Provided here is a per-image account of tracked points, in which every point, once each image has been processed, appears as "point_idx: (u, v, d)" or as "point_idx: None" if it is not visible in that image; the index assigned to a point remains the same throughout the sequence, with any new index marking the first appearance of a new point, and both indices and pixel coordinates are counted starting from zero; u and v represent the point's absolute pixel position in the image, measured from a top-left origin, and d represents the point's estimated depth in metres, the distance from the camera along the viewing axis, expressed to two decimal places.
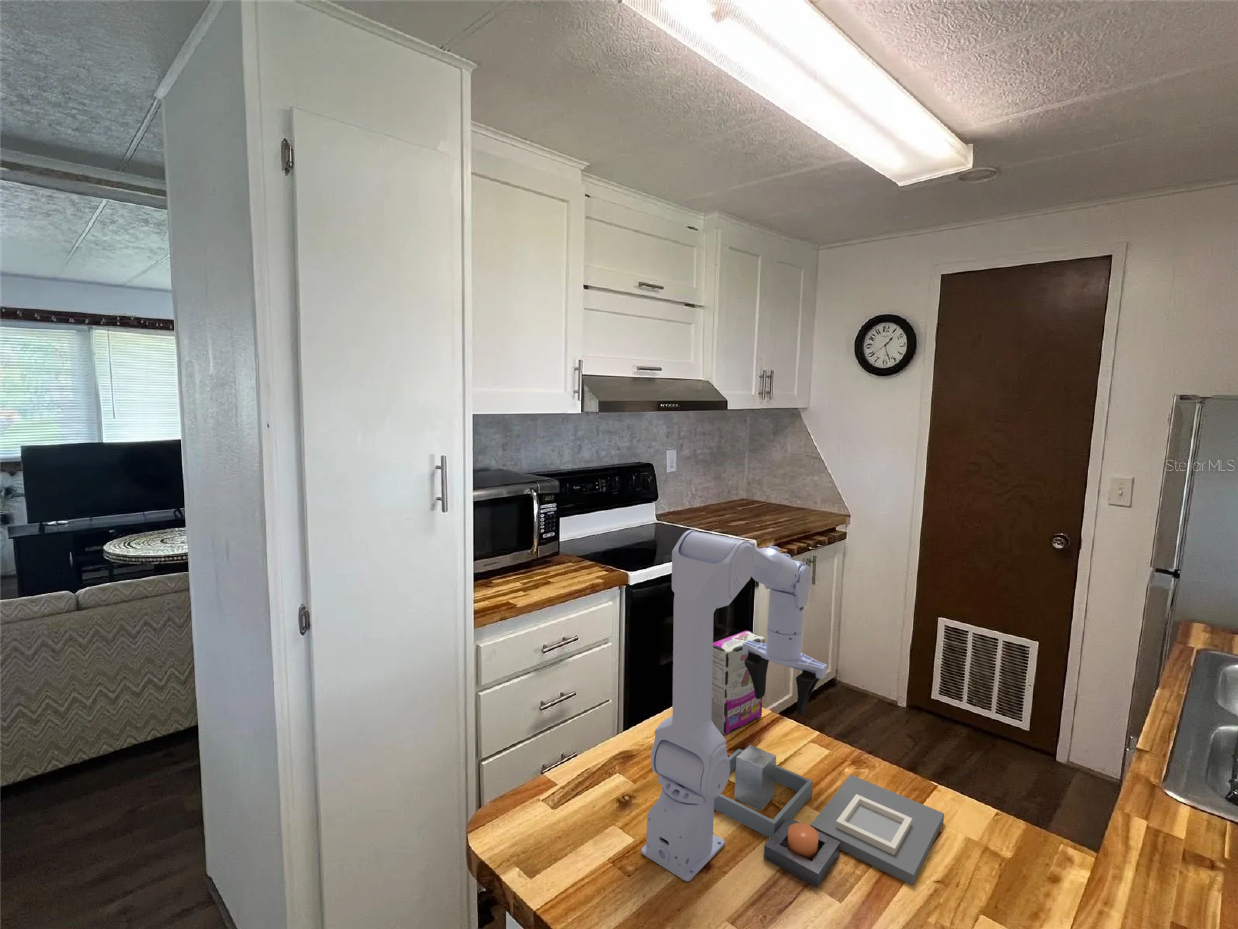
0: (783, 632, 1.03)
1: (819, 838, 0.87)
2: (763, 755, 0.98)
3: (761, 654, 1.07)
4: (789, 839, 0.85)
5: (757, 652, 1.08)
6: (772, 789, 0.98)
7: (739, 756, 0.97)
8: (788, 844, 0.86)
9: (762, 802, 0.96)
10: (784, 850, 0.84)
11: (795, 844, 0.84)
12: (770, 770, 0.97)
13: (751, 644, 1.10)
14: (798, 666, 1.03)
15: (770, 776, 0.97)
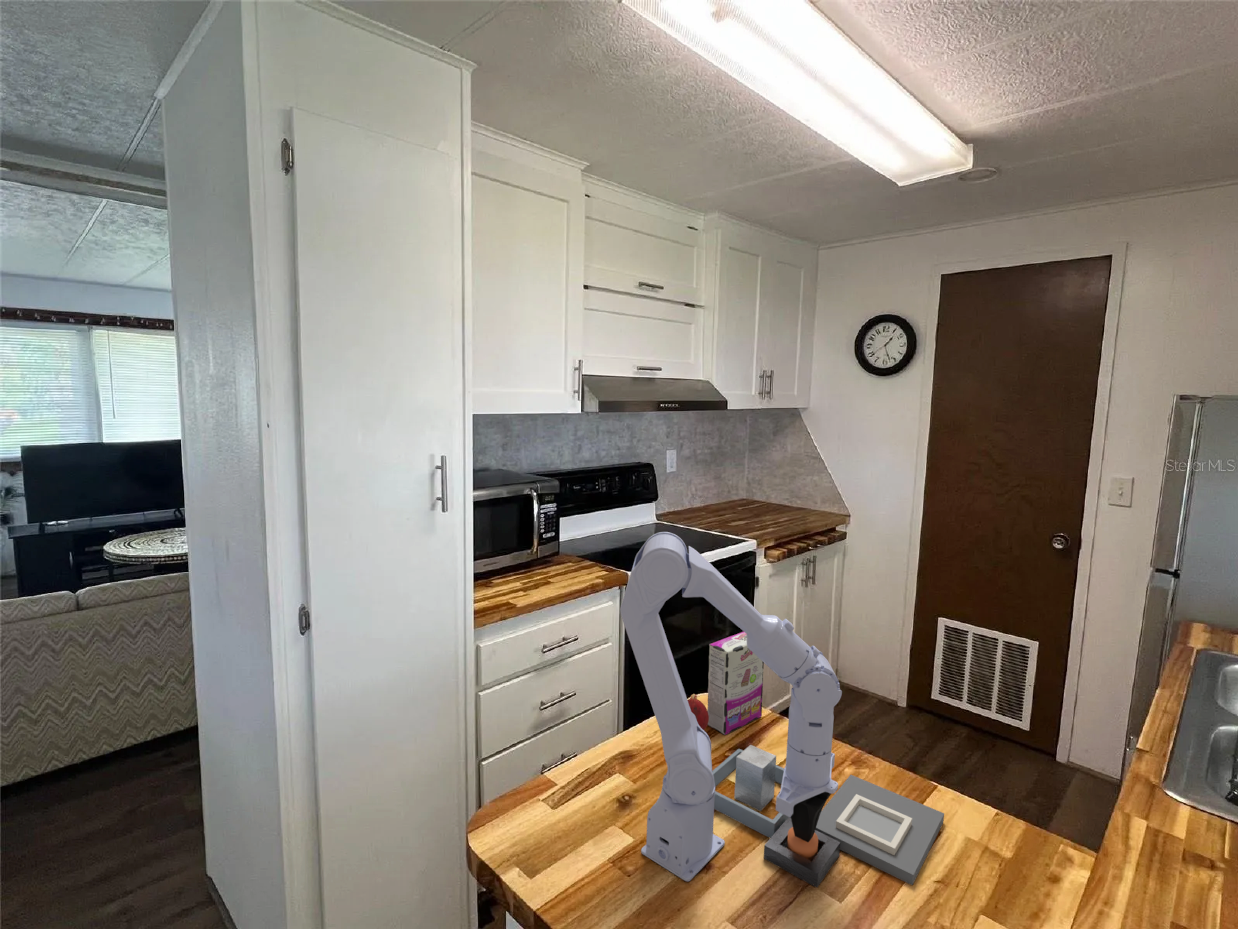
0: (790, 743, 0.83)
1: (819, 838, 0.87)
2: (763, 755, 0.98)
3: None
4: (789, 842, 0.85)
5: None
6: (772, 789, 0.98)
7: (739, 756, 0.97)
8: (788, 847, 0.86)
9: (762, 802, 0.96)
10: (784, 850, 0.84)
11: (794, 848, 0.84)
12: (770, 770, 0.97)
13: None
14: None
15: (770, 776, 0.97)
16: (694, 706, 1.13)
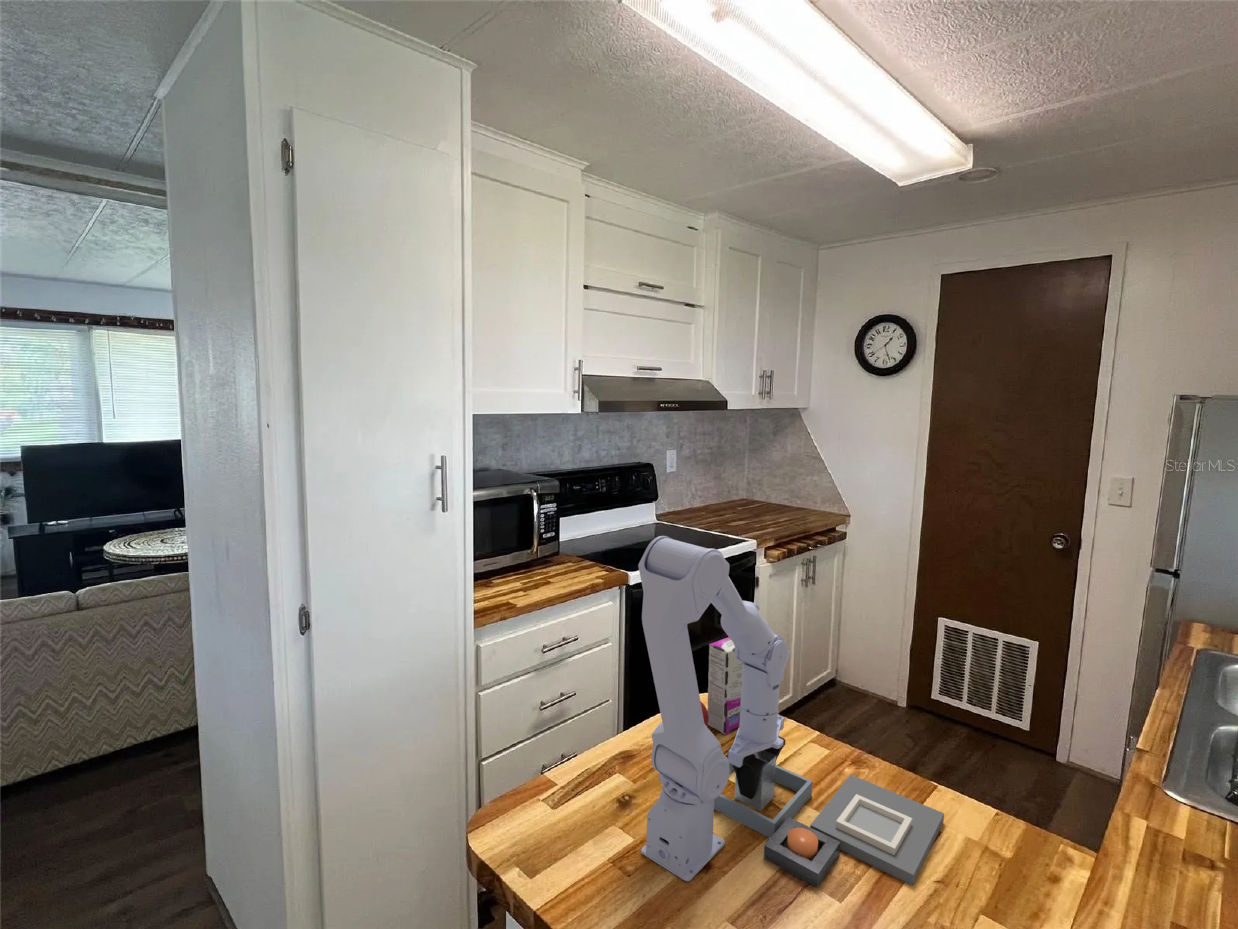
0: (754, 712, 0.94)
1: (819, 838, 0.87)
2: (763, 755, 0.98)
3: None
4: (789, 844, 0.85)
5: None
6: (772, 789, 0.98)
7: None
8: None
9: (762, 802, 0.96)
10: (784, 850, 0.84)
11: (794, 849, 0.84)
12: (770, 770, 0.97)
13: None
14: None
15: (770, 775, 0.97)
16: None
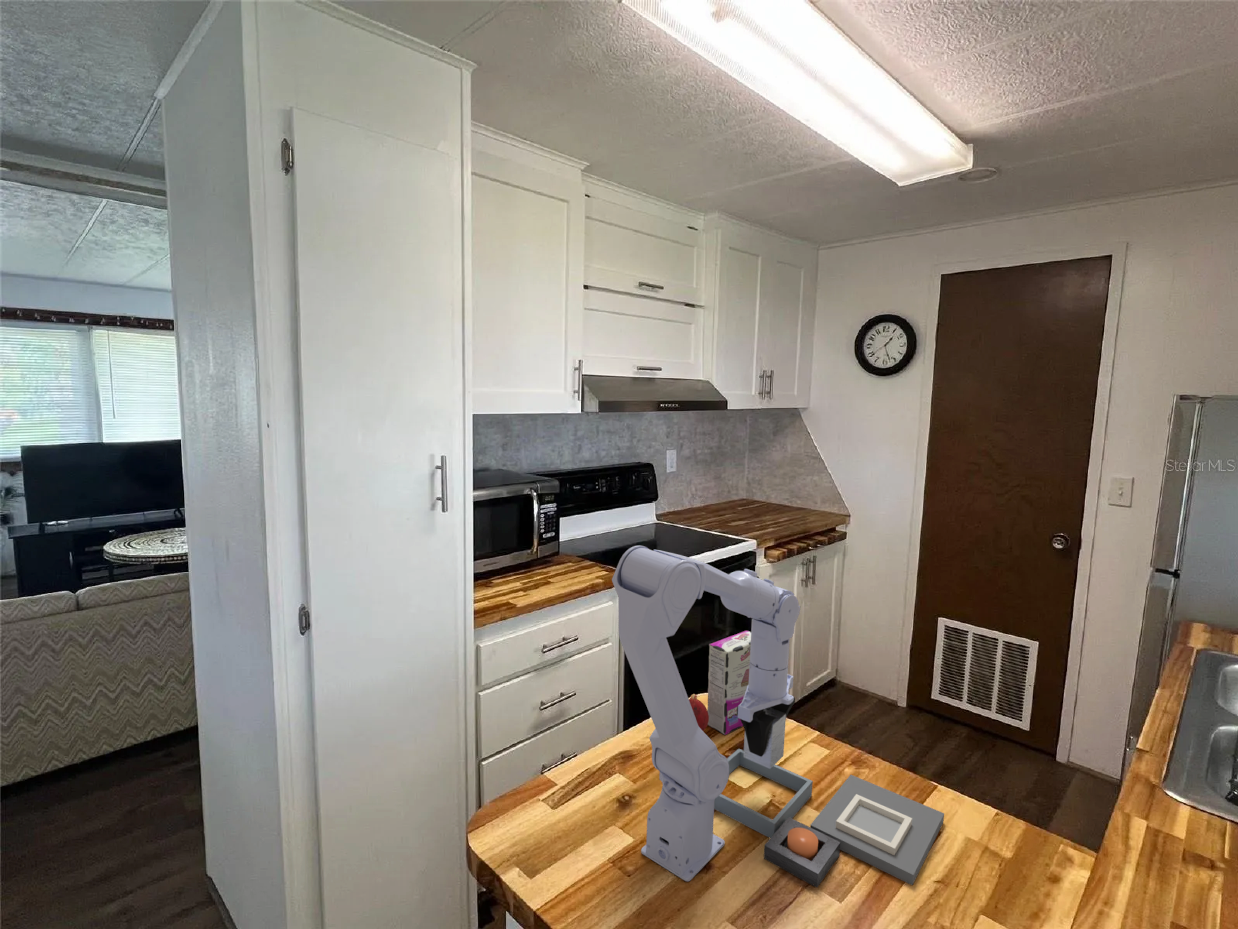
0: (763, 667, 0.93)
1: (819, 838, 0.87)
2: (773, 713, 0.96)
3: None
4: (789, 844, 0.85)
5: None
6: (782, 747, 0.97)
7: None
8: None
9: (772, 760, 0.94)
10: (784, 850, 0.84)
11: (794, 849, 0.84)
12: (780, 728, 0.95)
13: None
14: (744, 697, 0.94)
15: (780, 733, 0.96)
16: (694, 706, 1.13)
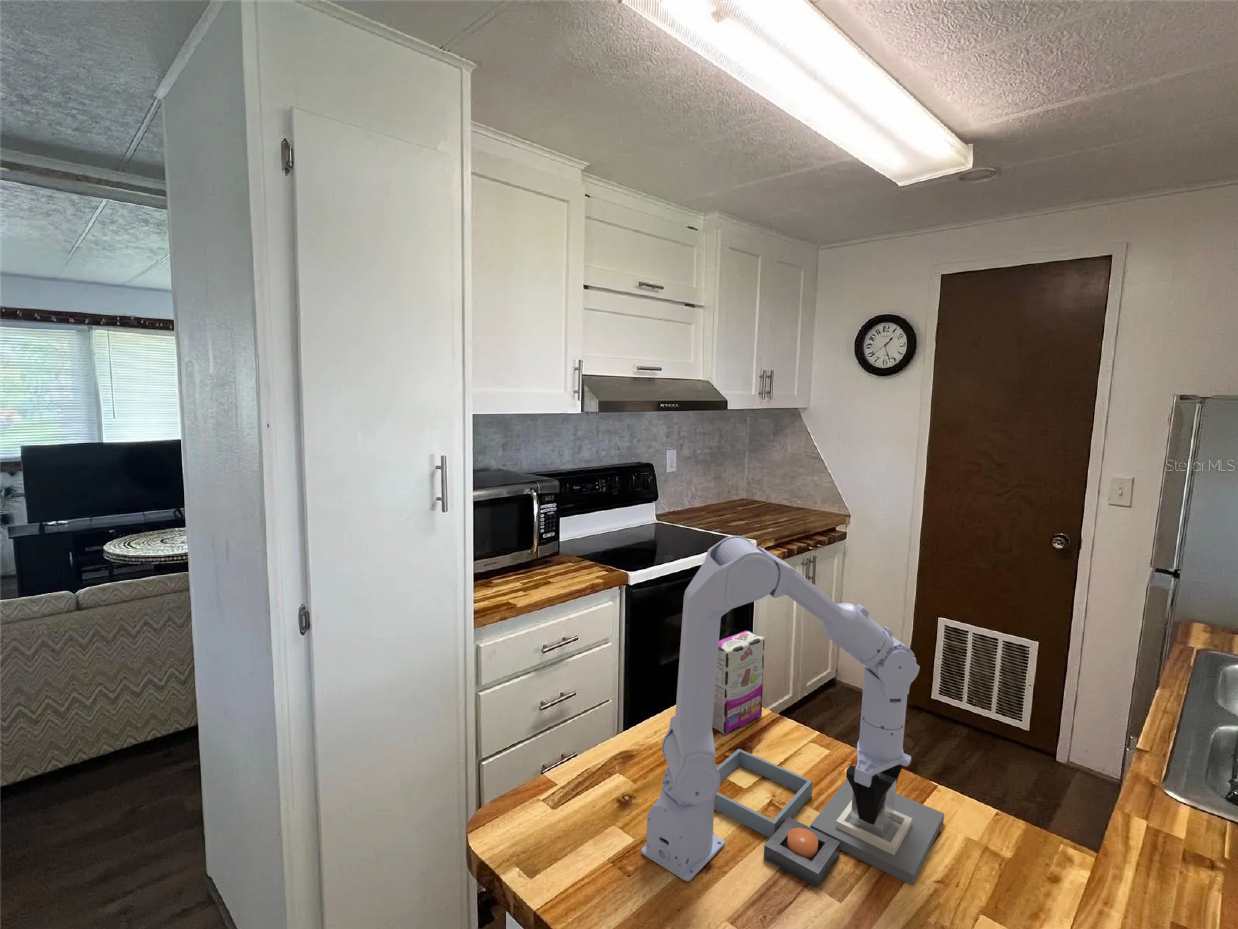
0: (868, 721, 0.87)
1: (819, 838, 0.87)
2: (882, 778, 0.90)
3: None
4: (789, 844, 0.85)
5: None
6: (892, 815, 0.90)
7: None
8: None
9: (884, 830, 0.88)
10: (784, 850, 0.84)
11: (794, 849, 0.84)
12: (891, 795, 0.89)
13: None
14: (857, 757, 0.87)
15: (891, 801, 0.89)
16: None
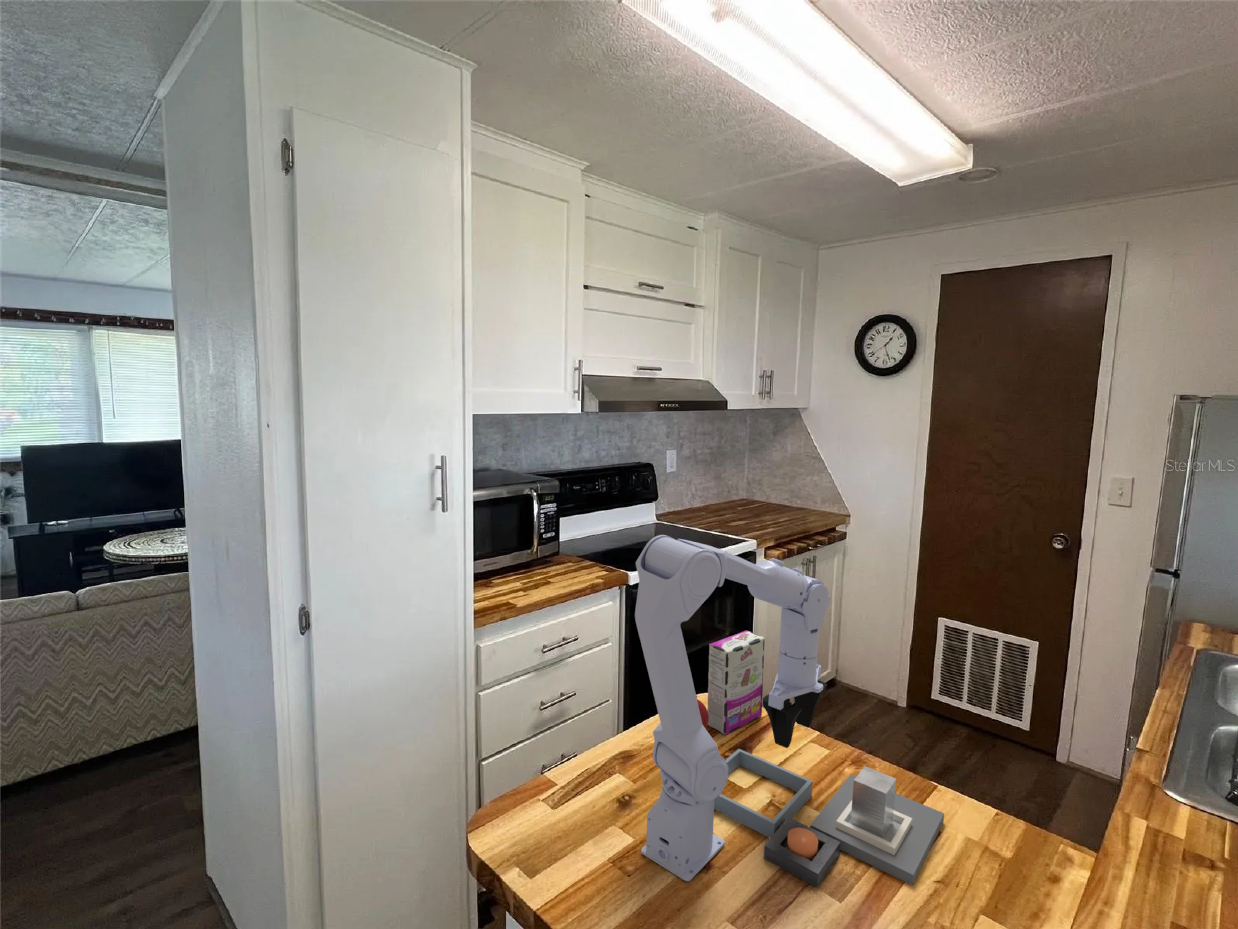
0: (791, 655, 0.94)
1: (819, 838, 0.87)
2: (882, 778, 0.90)
3: None
4: (789, 844, 0.85)
5: None
6: (892, 815, 0.90)
7: (856, 779, 0.90)
8: None
9: (884, 830, 0.88)
10: (784, 850, 0.84)
11: (794, 849, 0.84)
12: (891, 795, 0.89)
13: None
14: (774, 686, 0.95)
15: (891, 801, 0.89)
16: None
